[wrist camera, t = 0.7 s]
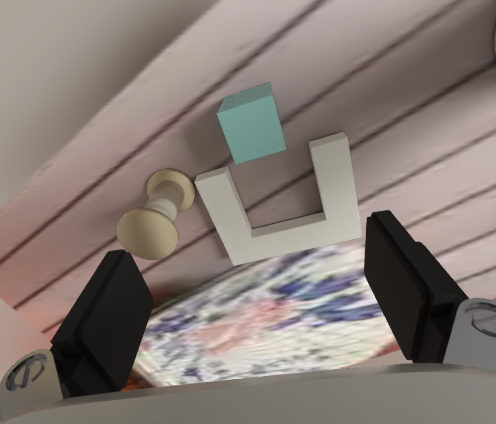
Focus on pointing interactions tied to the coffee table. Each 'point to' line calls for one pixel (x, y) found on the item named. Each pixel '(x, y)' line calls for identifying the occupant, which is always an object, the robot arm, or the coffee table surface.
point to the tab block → (251, 124)
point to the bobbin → (157, 216)
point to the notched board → (296, 230)
